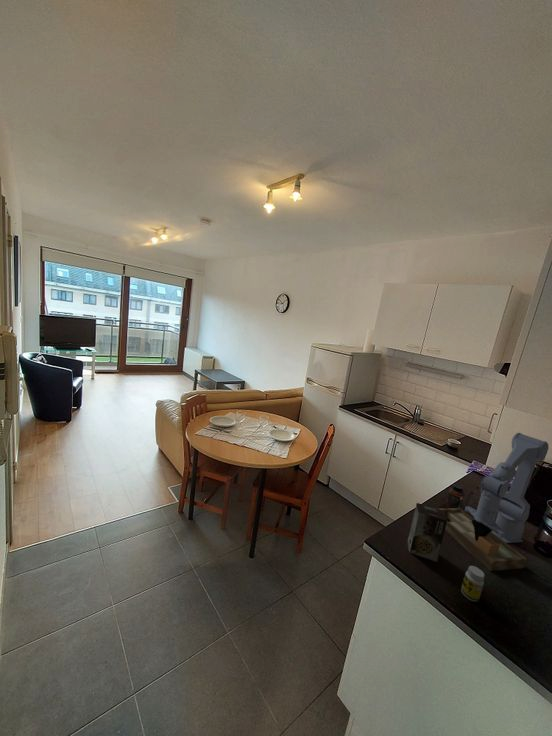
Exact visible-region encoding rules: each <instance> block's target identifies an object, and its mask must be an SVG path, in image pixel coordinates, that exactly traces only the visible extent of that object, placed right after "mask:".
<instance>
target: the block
mask: <svg viewBox="0 0 552 736" xmlns="http://www.w3.org/2000/svg"><path fill="white" fill-rule="evenodd" d="M476 546H478V547H479V548H480V549H481V550H482V551H483V552H485V553H486V554H487V555H488V556H493V555H497V553H498V550H499V547H500V545H499V544H497V543H496V542H495V541H494V540H492V539H491V538H490V537H488V536H481V537H478V541H477V544H476Z"/></svg>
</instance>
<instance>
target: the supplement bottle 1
mask: <svg viewBox="0 0 552 736" xmlns="http://www.w3.org/2000/svg"><path fill="white" fill-rule="evenodd" d="M464 497H465V492H464V487H463V486H462V485H460V484H457V483H454V484H453V485H452V487H450V488H449V491H448V495H447V499H446V503H445V506H446V508H461V509H462V504H463V500H464Z"/></svg>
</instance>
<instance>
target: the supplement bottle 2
mask: <svg viewBox="0 0 552 736" xmlns="http://www.w3.org/2000/svg"><path fill="white" fill-rule="evenodd" d="M484 579H485V573H484V572H483V571H482V569H480V568H479V567H477V566H474V565H469V566H468V568H467V570H466V571H465V573H464V577H463V581H462V584H461V588H460V591H461V594H462V595H463V596H464V597H465V598H466V599H468V600H469V601H471V602H479V601H480V598H481V595H482V591H483V588H484V585H485V582H484Z"/></svg>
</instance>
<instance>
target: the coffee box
mask: <svg viewBox="0 0 552 736" xmlns="http://www.w3.org/2000/svg"><path fill="white" fill-rule="evenodd" d="M413 512H414V514H413V517H412V521H411V525H410V529H409V534H408V537H407V547H408V551H409V552H408V553H410V554H413V555H415V556H418V557H421V558H423V559H424V558H425V559H427V560H430V561H432V562H437V563H438V559H439V555H440V552H441V546H442V542H443V539H444V536H445V532H446V531H445V528H446V524H447V521H448V519H447V518H446V516H445V514H444V511H443V510H440V509H438V508H436V507H433V506H429V505H425V504H423V503H419V502H416V505H415V509H414V511H413Z"/></svg>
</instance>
